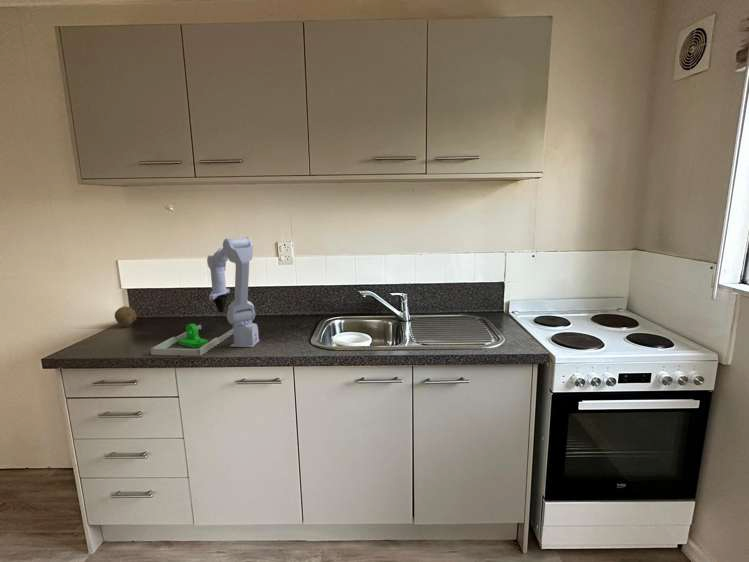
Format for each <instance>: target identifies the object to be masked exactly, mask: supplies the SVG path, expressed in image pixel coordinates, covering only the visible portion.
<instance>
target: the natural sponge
mask: <svg viewBox="0 0 749 562" xmlns="http://www.w3.org/2000/svg"><path fill="white" fill-rule="evenodd" d="M137 318H138V315H137V313H136V311H135V310H134V309H133V308H132V307H130V306H121V307H119V308H118V309H116V311H115V312H114V319H115V321H116V322H117V324H118V325H119V326H121V327H124V328H128V327H129V326H131V324H132V323H133V322H135V321H136V320H137Z"/></svg>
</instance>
